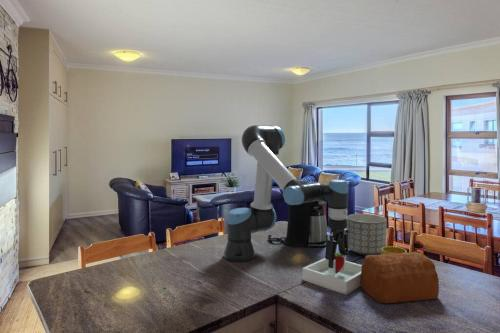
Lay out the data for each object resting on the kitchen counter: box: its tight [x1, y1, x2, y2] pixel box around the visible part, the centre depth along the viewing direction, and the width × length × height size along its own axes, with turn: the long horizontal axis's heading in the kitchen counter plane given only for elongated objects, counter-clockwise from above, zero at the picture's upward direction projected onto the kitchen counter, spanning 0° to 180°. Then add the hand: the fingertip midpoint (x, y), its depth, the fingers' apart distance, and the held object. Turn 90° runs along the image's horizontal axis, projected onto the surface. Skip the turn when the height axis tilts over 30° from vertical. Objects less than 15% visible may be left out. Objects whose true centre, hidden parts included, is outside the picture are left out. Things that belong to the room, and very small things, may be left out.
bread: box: [360, 251, 440, 304], centre depth 132 cm, size 17×24×15 cm
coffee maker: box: [267, 180, 328, 248], centre depth 194 cm, size 23×32×34 cm
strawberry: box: [334, 251, 344, 274], centre depth 144 cm, size 6×8×10 cm
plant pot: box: [380, 245, 408, 254], centre depth 153 cm, size 10×10×10 cm
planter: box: [346, 213, 388, 257], centre depth 177 cm, size 19×19×18 cm
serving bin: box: [302, 257, 363, 296], centre depth 145 cm, size 20×20×5 cm
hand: (336, 272), depth 145 cm, fingers closed on strawberry, 7 cm apart
